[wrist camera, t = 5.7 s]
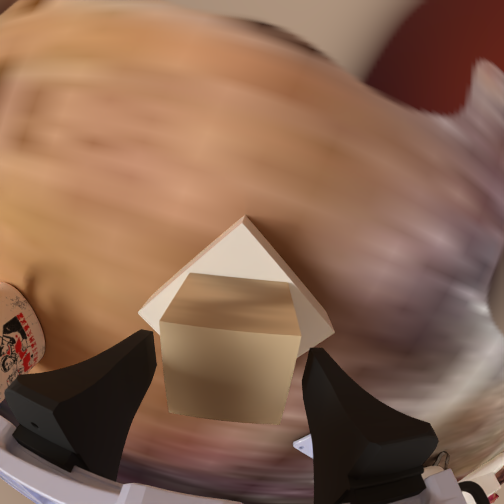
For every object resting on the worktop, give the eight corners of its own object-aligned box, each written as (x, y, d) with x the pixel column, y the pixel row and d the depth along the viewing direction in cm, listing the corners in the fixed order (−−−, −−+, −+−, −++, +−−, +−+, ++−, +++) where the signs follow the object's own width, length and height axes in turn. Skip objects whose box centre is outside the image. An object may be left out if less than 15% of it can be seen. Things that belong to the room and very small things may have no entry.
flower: (477, 496, 34) (477, 513, 30) (501, 484, 31) (501, 501, 26) (472, 489, 41) (472, 505, 36) (494, 478, 38) (494, 494, 33)
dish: (409, 517, 35) (418, 547, 24) (461, 472, 28) (478, 510, 17) (474, 488, 34) (485, 512, 24) (524, 436, 27) (541, 463, 17)
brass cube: (287, 282, 14) (301, 336, 9) (274, 360, 16) (279, 424, 11) (189, 272, 14) (159, 320, 9) (189, 351, 16) (168, 412, 11)
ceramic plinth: (324, 308, 18) (334, 332, 15) (233, 368, 19) (229, 396, 17) (245, 213, 16) (242, 222, 13) (154, 291, 18) (137, 312, 15)
